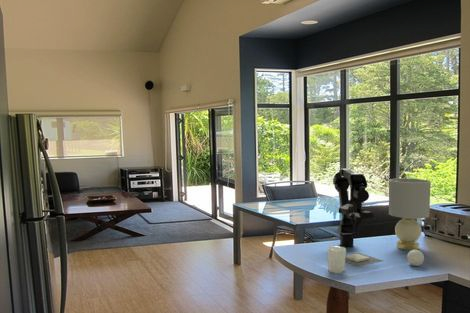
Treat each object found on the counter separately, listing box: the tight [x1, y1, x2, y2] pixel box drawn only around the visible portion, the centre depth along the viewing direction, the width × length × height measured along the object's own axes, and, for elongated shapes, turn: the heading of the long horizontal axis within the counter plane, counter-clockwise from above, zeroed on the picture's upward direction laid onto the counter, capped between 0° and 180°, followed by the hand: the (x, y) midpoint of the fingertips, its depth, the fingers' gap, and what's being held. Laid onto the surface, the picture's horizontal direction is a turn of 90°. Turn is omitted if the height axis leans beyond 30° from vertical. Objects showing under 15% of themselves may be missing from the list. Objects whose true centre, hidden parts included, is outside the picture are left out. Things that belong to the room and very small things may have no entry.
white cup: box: [327, 245, 347, 274], centre depth 210 cm, size 8×8×10 cm
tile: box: [346, 253, 370, 262], centre depth 227 cm, size 1×8×8 cm
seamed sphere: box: [406, 249, 425, 267], centre depth 219 cm, size 10×7×7 cm
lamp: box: [388, 177, 432, 251], centre depth 251 cm, size 20×20×35 cm
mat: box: [345, 252, 384, 267], centre depth 227 cm, size 16×18×1 cm
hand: (355, 229), depth 239 cm, fingers closed
